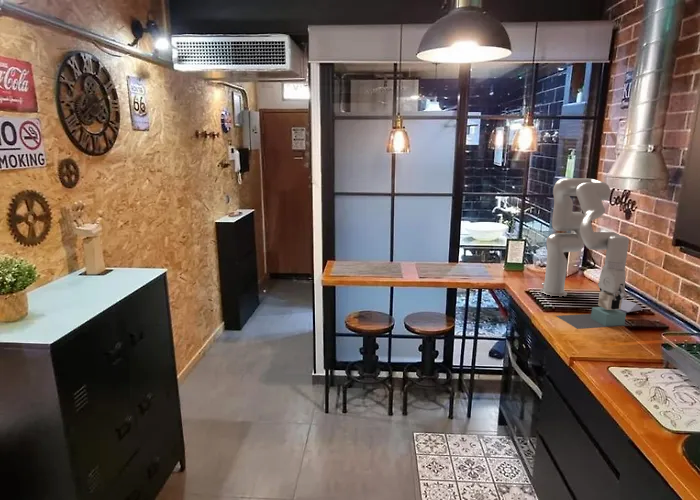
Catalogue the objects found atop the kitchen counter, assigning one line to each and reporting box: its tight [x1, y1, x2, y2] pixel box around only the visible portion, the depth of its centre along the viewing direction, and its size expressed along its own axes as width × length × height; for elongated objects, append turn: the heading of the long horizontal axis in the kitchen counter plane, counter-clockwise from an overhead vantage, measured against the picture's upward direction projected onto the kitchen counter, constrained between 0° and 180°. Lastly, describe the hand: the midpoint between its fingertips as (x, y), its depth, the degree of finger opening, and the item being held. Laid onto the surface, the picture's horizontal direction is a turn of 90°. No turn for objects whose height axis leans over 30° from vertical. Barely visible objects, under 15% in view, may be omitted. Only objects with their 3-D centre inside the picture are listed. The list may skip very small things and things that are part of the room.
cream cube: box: [597, 291, 623, 310], centre depth 193 cm, size 6×6×6 cm
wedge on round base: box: [617, 298, 644, 314], centre depth 208 cm, size 9×7×13 cm
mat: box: [556, 313, 630, 330], centre depth 197 cm, size 15×24×1 cm, turn 99°
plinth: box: [590, 306, 627, 326], centre depth 195 cm, size 9×9×5 cm
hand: (609, 305), depth 194 cm, fingers closed on cream cube, 5 cm apart
